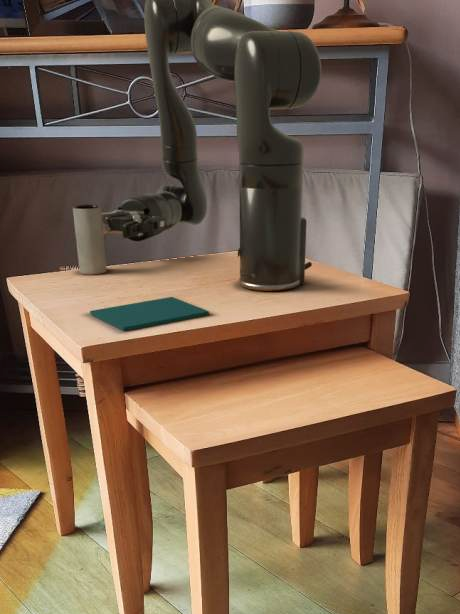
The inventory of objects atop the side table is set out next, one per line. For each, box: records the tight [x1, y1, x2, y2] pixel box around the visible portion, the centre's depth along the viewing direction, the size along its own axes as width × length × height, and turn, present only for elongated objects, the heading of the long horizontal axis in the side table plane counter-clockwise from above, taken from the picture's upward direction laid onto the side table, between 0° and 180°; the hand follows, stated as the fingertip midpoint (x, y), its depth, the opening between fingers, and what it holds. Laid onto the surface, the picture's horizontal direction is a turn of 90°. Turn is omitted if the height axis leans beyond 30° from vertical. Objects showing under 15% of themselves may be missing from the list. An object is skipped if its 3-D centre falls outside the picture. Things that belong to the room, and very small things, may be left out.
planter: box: [72, 204, 108, 275], centre depth 123 cm, size 4×4×10 cm
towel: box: [89, 296, 210, 332], centre depth 102 cm, size 13×10×1 cm
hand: (102, 230), depth 126 cm, fingers open, 8 cm apart
